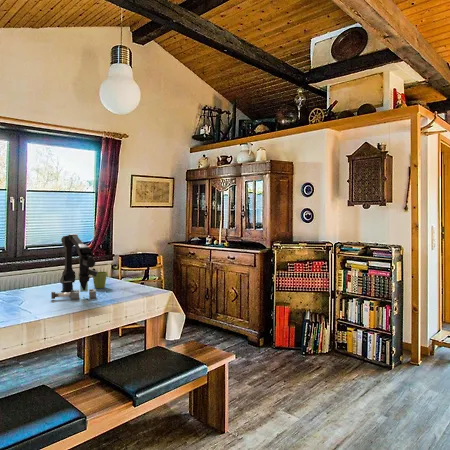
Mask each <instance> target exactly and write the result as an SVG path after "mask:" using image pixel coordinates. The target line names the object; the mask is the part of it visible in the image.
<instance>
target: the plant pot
mask: <svg viewBox="0 0 450 450" xmlns="http://www.w3.org/2000/svg"><path fill="white" fill-rule="evenodd" d="M97 272H98V273H97V275H96V277H95V276H93V275H91V276H92V279H93V286H94V289H104V288H105V287H106V280H107V275H108V273H109V272H108V271H97Z"/></svg>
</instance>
